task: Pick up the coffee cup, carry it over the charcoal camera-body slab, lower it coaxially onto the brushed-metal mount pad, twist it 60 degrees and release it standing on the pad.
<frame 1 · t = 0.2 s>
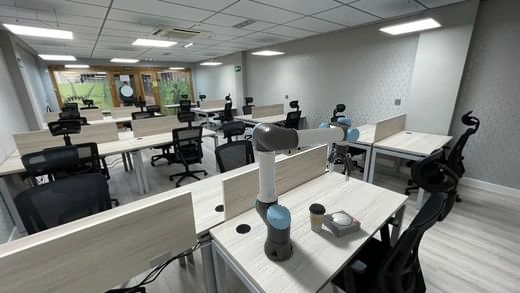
hand: (338, 176, 127), 27 cm above the table, fingers open, 13 cm apart
camera body: (340, 226, 123), on the table
coffee cup: (315, 229, 121), on the table
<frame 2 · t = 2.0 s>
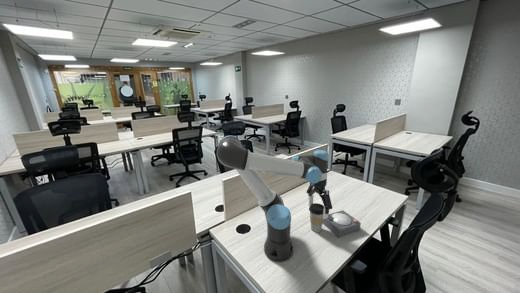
hand: (317, 211, 118), 12 cm above the table, fingers open, 13 cm apart
nothing on the table moved.
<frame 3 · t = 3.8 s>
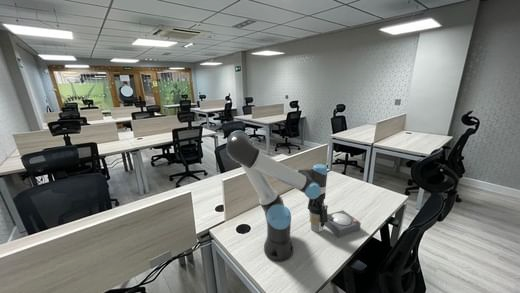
hand: (316, 225, 121), 2 cm above the table, fingers closed on coffee cup, 8 cm apart
coffee cup: (315, 229, 121), on the table, touching gripper
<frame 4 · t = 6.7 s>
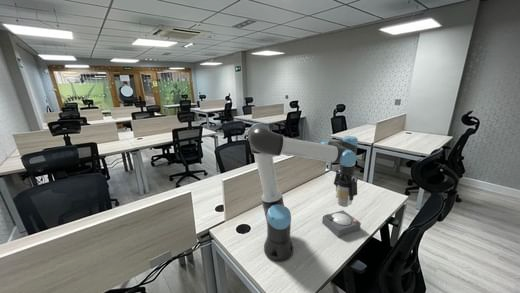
hand: (343, 200, 118), 18 cm above the table, fingers closed on coffee cup, 8 cm apart
coffee cup: (342, 204, 119), point 15 cm above the table, touching gripper
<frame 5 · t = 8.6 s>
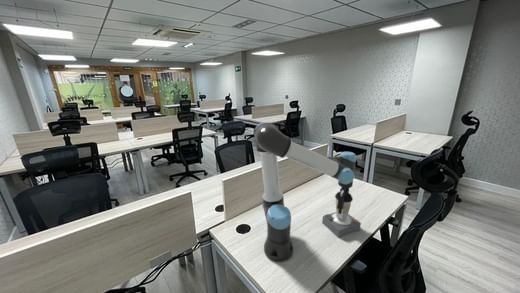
hand: (341, 213, 121), 9 cm above the table, fingers closed on coffee cup, 8 cm apart
coffee cup: (341, 217, 121), point 6 cm above the table, touching gripper
when the fingers open (9 cm above the table, at t = 9.7 s): coffee cup stays where it is, resting on camera body.
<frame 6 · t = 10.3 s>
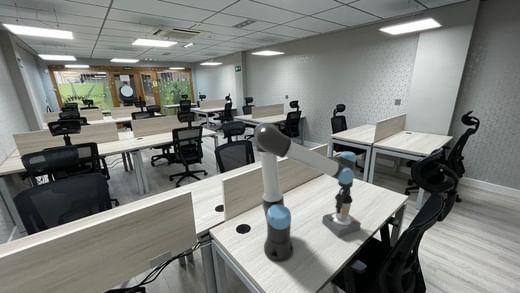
hand: (342, 211, 120), 10 cm above the table, fingers open, 13 cm apart
coffee cup: (341, 218, 122), point 5 cm above the table, touching camera body
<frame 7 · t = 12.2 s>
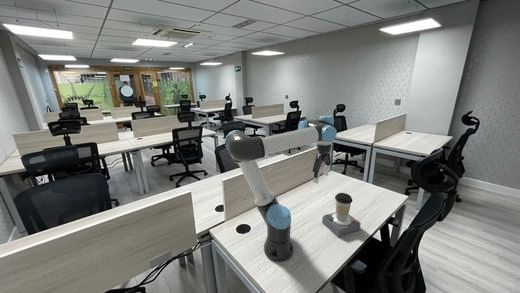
hand: (320, 178, 119), 30 cm above the table, fingers open, 13 cm apart
nothing on the table moved.
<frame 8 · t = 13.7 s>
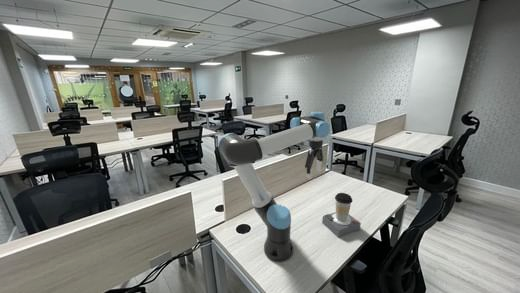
hand: (313, 174, 120), 32 cm above the table, fingers open, 13 cm apart
nothing on the table moved.
at the end: coffee cup 0.0 cm off-centre on the camera body, point 5.4 cm above the camera body's base; coffee cup tilted 0°; coffee cup touching camera body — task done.
